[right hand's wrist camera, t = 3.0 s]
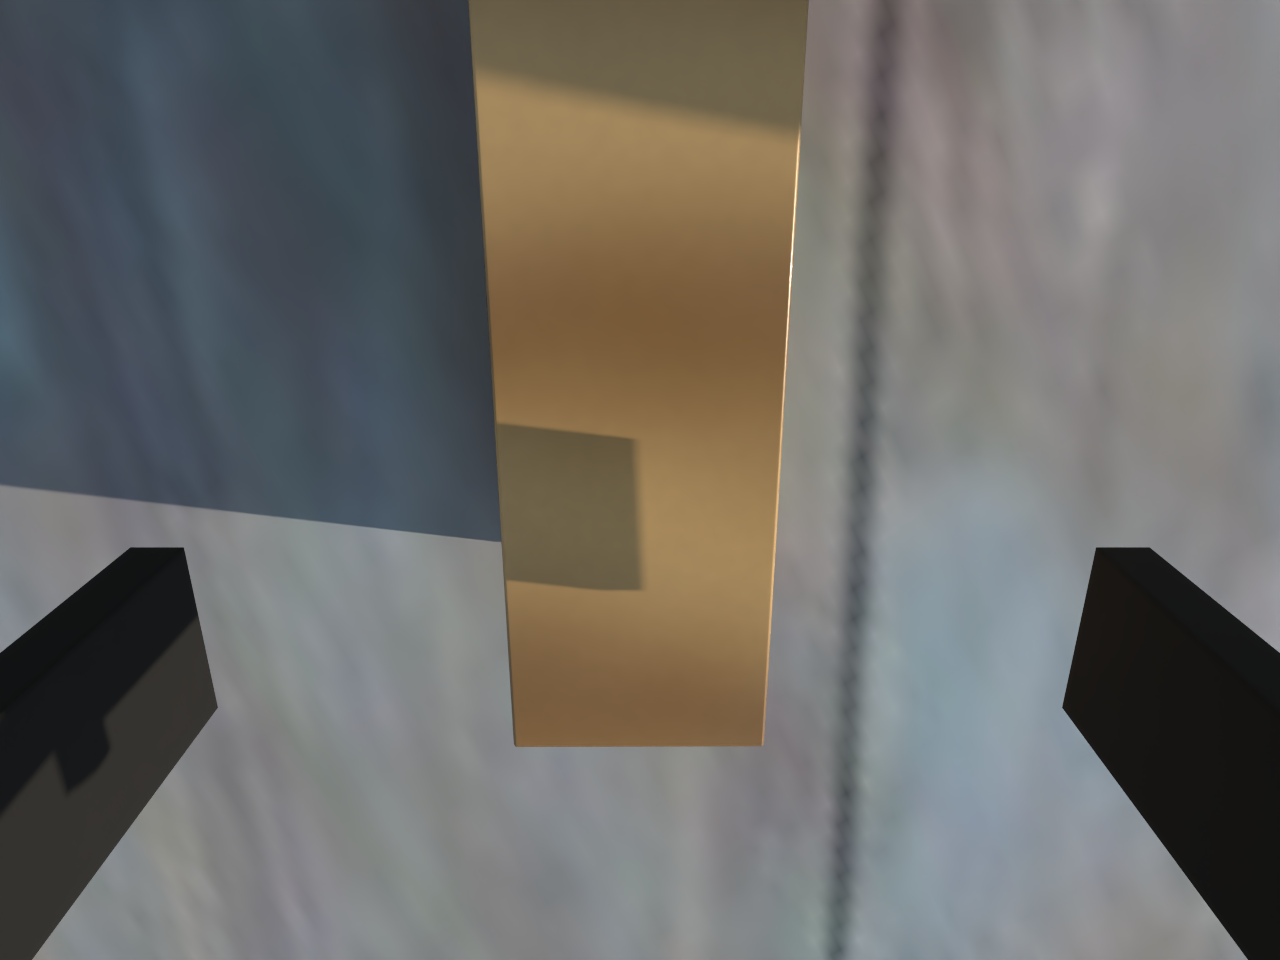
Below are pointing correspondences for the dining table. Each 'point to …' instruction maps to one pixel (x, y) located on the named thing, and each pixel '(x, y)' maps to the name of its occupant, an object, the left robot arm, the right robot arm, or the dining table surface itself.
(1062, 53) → the dining table surface
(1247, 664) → the right robot arm
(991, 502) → the dining table surface
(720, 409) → the bar
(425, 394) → the dining table surface
